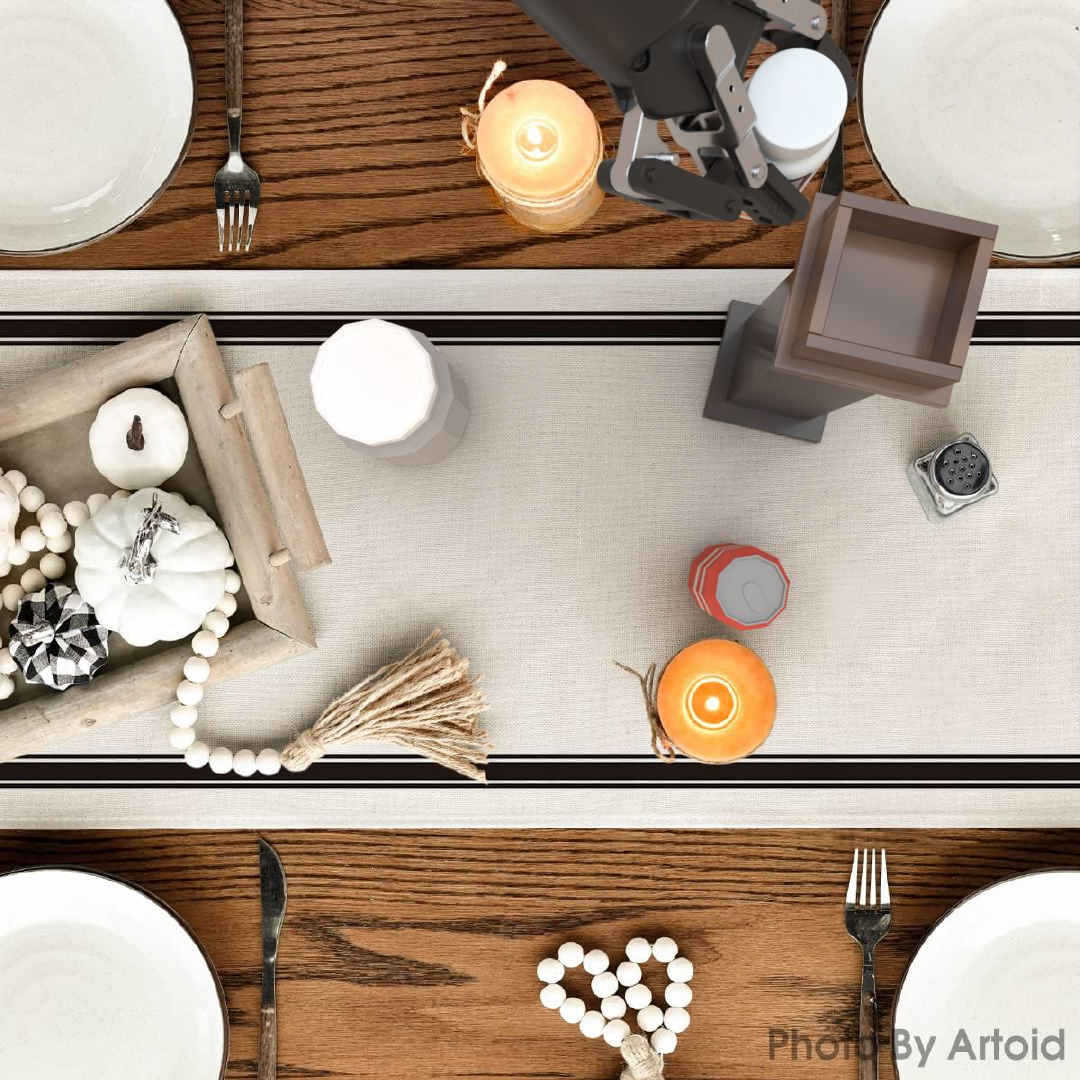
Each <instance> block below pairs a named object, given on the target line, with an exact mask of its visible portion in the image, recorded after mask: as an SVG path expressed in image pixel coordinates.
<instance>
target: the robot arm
mask: <svg viewBox="0 0 1080 1080" xmlns="http://www.w3.org/2000/svg"><path fill="white" fill-rule="evenodd" d="M510 1H511V2H512V3H513V4H514V5H515V6H516V7H517V8H518V9H519V10H520V11H521V12H523V14H524V15H526V16H527V17H528V18H529V19H530V20H531V21H532V22H533V23H534V24H535V25H537V26H538V27H539V28H540V29H541V30H542V31H543V32H544V33H545V34H546V35H548V37H550V39H552V40H553V41H554V42H555V43H556V44H557V45H558V46H559V47H560V48H561V49H563V50H564V51H565V52H566V53H567V54H568V55H569V56H570V57H571V58H572V59H574V60H575V61H577V62H578V63H579V64H581V65H583V66H584V67H586V68H587V69H589V71H592V72H593V73H595V74H596V75H598V76H599V77H600V78H601V79H602V80H603V81H604V82H605V84H606V85H607V87H608V89H609V92H610V94H611V97H612V101H613V103H614V104H615V106H616V109H617V110H618V112H619V113H620V114H621V115H622V116H623V122H622V127H621V132H620V138H619V142H618V148H617V153H616V157H614V158H610V157H609V158H607V157H606V158H604V159H603V160H601V161H600V162H599V164H598V166H597V170H596V182H597V185H598V188H599V189H600V190H602V191H603V192H605V193H608V194H610V195H613V196H615V197H619V198H622V199H625V200H627V201H630V202H633V203H636V204H638V205H642V206H644V207H647V208H650V209H653V210H656V211H659V212H661V213H663V214H664V213H665V214H667V215H670V216H673V217H676V218H678V219H682V220H683V221H684V220H685V221H698V222H717V223H718V222H720V223H734V222H735V223H736V221H738V219H739V218H740V217H739V216H740V214H741V212H742V210H743V211H744V212H746V214H747V215H748V216H749V217H750V218H751V219H752V220H751V221H753V222H754V223H755V224H758V225H765V226H781V227H782V226H783V227H784V226H785V227H791V225H792V223H793V222H796V223H797V222H798V223H799V222H800V223H801V222H805V220H806V216H807V213H808V211H809V208H810V206H811V203H810V200H809V199H807V198H806V196H804V194H803V193H802V192H800V191H799V190H798V189H797V188H796V187H795V186H794V185H793V184H792V183H791V182H790V181H789V180H788V179H787V178H786V177H785V176H784V175H783V174H782V173H781V172H780V171H779V170H778V168H777V167H776V166H775V165H774V164H773V163H766V160H765V158H764V156H763V153H762V151H761V149H760V146H759V144H758V142H757V140H756V137H755V135H754V133H753V130H752V128H753V127H754V125H755V124H756V122H757V115H756V113H755V111H754V108H753V106H752V104H751V101H750V99H749V97H748V94H747V92H746V90H745V87H744V85H743V84H744V81H745V76H746V71H747V66H748V62H749V58H750V56H751V54H753V51H754V50H755V49H756V47H757V46H758V44H759V43H760V44H763V45H765V46H769V47H770V46H775V50H774V53H773V55H774V54H776V53H778V52H780V51H783V50H786V49H791V48H806V49H810V50H814V51H817V52H819V53H821V54H823V55H825V56H826V57H827V58H829V59H830V60H831V61H832V62H833V63H834V64H835V65H836V66H837V68H838V69H839V70H840V72H841V74H842V76H843V78H844V81H845V84H846V88H847V106H851V105H852V104H853V102H854V100H855V97H856V96H857V95H856V94H857V92H858V90H859V84H858V83H857V81H856V80H855V78H854V77H853V76H852V75H853V68H852V66H851V65H852V64H851V62H850V60H849V58H848V57H847V56H846V54H845V53H844V52H843V50H842V49H841V48H840V47H839V45H838V43H837V42H836V41H835V40H834V38H833V37H832V35H831V34H830V32H829V31H828V30H827V27H828V15H827V12H826V9H825V8H824V7H823V6H822V5H821V2H822V0H510ZM659 121H663V122H664V124H665V126H666V128H667V129H668V131H669V133H670V135H671V137H672V139H673V141H674V143H676V144H677V145H678V146H679V147H681V148H683V149H685V150H686V151H687V152H688V153H689V154H690V156H691V159H692V160H693V162H694V164H695V167H696V168H697V170H698V172H699V174H700V175H699V174H697V173H695V172H692V171H690V170H686V169H685V168H682V167H679V165H680V161H681V158H680V155H679V153H678V152H672V150H671V148H670V147H669V145H668V144H667V143H665V142H664V141H663V139H662V138H661V135H660V132H659ZM722 148H723V149H725V150H726V152H727V153H728V155H729V157H726V156H725V154H724V152H723V150H722Z"/></svg>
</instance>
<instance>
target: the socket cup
mask: <svg viewBox="0 0 1080 1080" xmlns="http://www.w3.org/2000/svg"><path fill="white" fill-rule="evenodd" d="M809 202H810V203H811V206H810V208H809V211H808V213H807V215H806V218H805V220H804V225H803V227H802V232H801V237H800V242H799V245H798V250H797V253H796V257H795V261H794V266H793V270H792V271H793V274H792V278H791V282H790V286H789V290H788V295H787V299H786V303H785V307H784V311H783V315H782V319H781V324H780V328H779V332H778V336H777V340H776V344H775V348H774V352H773V357H772V361H771V365H770V370H773V371H778V372H782V373H786V374H791V375H795V376H799V377H804V378H808V379H812V380H817V381H821V382H825V383H830V384H834V385H838V386H843V387H847V388H851V389H856V390H860V391H864V392H869V393H873V394H876V395H879V396H881V397H887V398H891V399H895V400H900V401H904V402H909V403H913V404H917V405H922V406H926V407H930V408H934V409H939V410H942V409H946V408H948V407H949V404H950V401H951V397H952V393H953V392H952V391H953V389H954V385H955V384H958V383H960V382H961V380H962V375H963V372H964V367H965V364H966V361H967V360H966V359H967V356H968V353H969V349H970V344H971V340H972V336H973V332H974V329H975V325H976V320H977V317H978V313H979V308H980V304H981V301H982V296H983V292H984V289H985V284H986V280H987V276H988V272H989V268H990V263H991V261H992V255H993V252H994V248H995V244H996V240H997V236H998V232H999V227H1000V226H999V225H997V224H993V223H989V222H984V221H980V220H975V219H972V218H967V217H962V216H958V215H954V214H950V213H945V212H941V211H936V210H932V209H928V208H923V207H919V206H914V205H909V204H906V203H900V202H896V201H892V200H888V199H883V198H879V197H874V196H870V195H865V194H861V193H856V192H852V191H848V190H843V189H842V190H841V191H840V192H839V193H838V195H837V196H836V195H832V194H828V193H824V192H819V191H815V192H814V193H813V194H812V195H811V197H810V199H809Z"/></svg>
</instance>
